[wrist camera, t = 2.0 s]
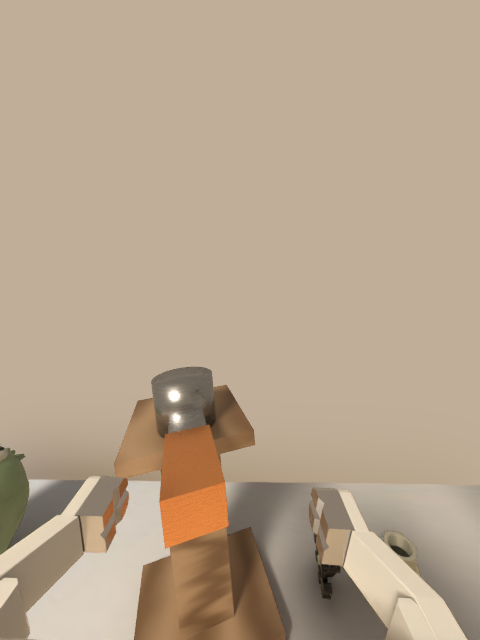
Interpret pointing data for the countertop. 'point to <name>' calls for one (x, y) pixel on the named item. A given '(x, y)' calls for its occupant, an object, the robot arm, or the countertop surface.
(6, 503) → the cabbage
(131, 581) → the countertop surface
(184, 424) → the valve lever
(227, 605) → the stand
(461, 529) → the countertop surface
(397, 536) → the valve
